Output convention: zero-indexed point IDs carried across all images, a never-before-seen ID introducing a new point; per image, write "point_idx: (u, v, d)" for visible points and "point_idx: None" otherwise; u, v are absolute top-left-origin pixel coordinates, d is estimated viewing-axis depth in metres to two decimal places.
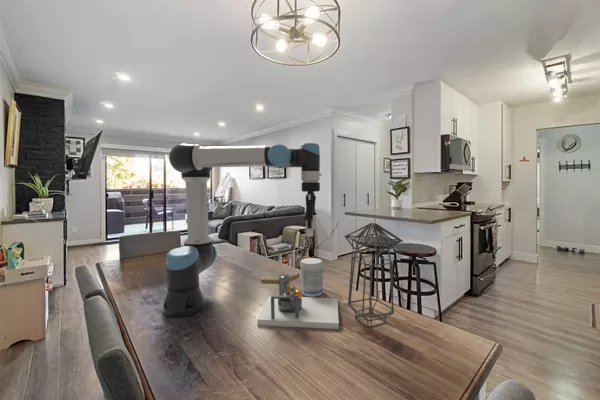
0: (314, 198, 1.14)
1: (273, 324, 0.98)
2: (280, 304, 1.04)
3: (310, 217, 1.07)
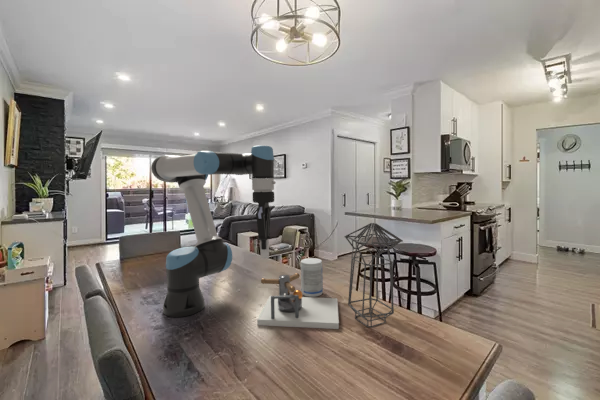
0: (267, 212, 0.97)
1: (273, 324, 0.98)
2: (280, 304, 1.04)
3: (263, 237, 0.96)
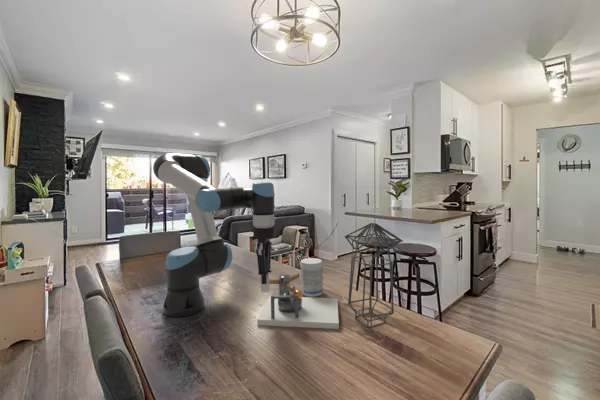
0: (267, 248, 0.98)
1: (273, 324, 0.98)
2: (280, 304, 1.04)
3: (263, 273, 0.97)
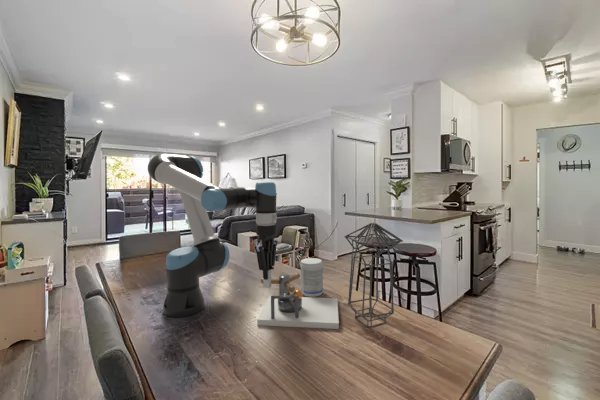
0: (268, 245, 1.02)
1: (273, 324, 0.98)
2: (280, 304, 1.04)
3: (263, 269, 1.02)
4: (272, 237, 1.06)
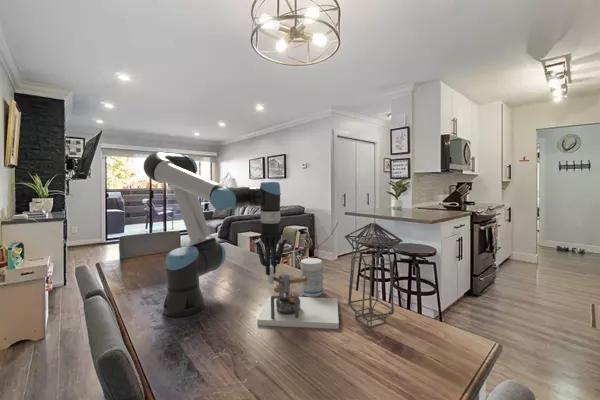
0: (267, 242, 1.07)
1: (273, 324, 0.98)
2: (276, 302, 1.06)
3: (262, 264, 1.07)
4: (277, 235, 1.09)
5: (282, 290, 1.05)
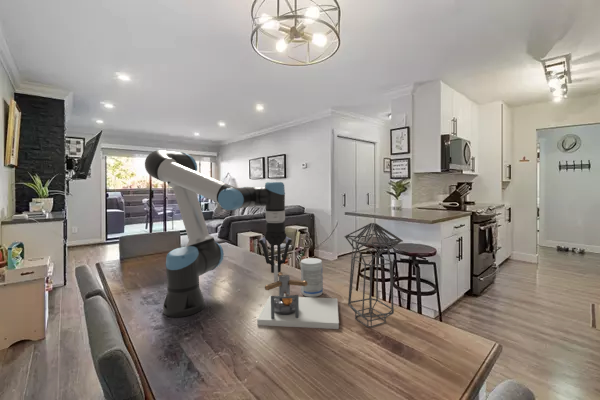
0: (270, 240, 1.10)
1: (273, 324, 0.98)
2: None
3: None
4: (281, 235, 1.10)
5: (280, 289, 1.05)
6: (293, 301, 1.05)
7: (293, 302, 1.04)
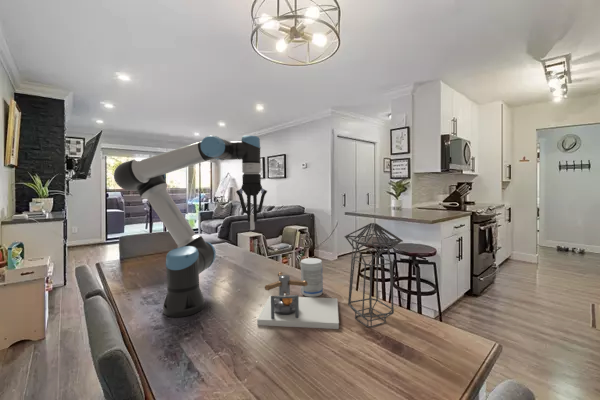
0: (246, 191, 1.17)
1: (273, 324, 0.98)
2: None
3: (243, 211, 1.19)
4: (257, 186, 1.18)
5: (280, 289, 1.05)
6: (293, 301, 1.05)
7: (293, 302, 1.04)
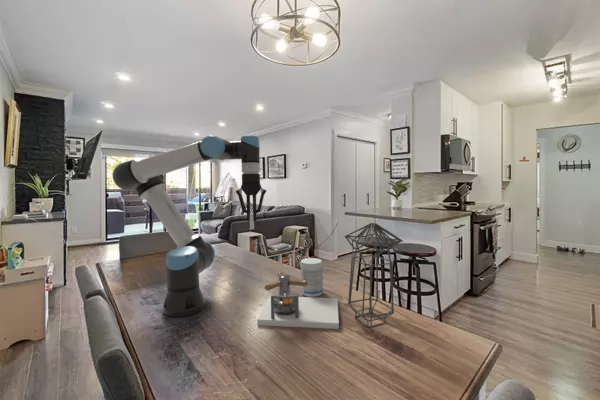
0: (246, 190, 1.18)
1: (273, 324, 0.98)
2: None
3: (242, 210, 1.20)
4: (256, 186, 1.19)
5: (280, 289, 1.05)
6: (293, 301, 1.05)
7: (293, 302, 1.04)
